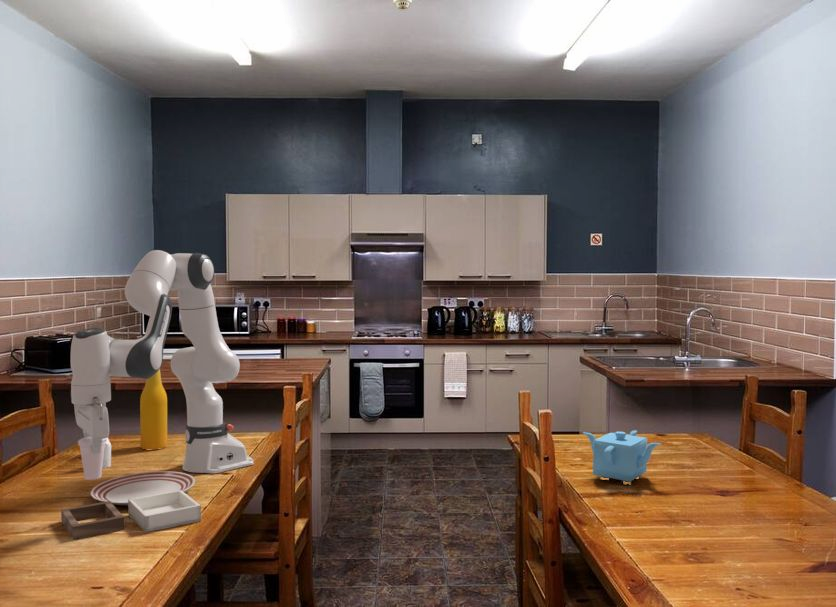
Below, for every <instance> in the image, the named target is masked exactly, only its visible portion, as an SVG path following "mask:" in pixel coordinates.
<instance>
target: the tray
mask: <svg viewBox="0 0 836 607" xmlns="http://www.w3.org/2000/svg"><path fill="white" fill-rule="evenodd" d="M201 505H202V504H200V503H199V502H197V501H196V500H195V499H193V498H192V497H191V496H190V495H188V494H187V493H186V492H183V491H182V490H178V491H172V492H167V493H161V494H156V495H150V496H145V497H139V498H133V499H128V506H127V507H128V508H127V509H128V514H129V515H130V516H131V517H132V518H131V517H130V516H129V515H128V514H127V515H128V516H129V517H130V518H131V519H132V520H133V521H134V522H135V524H136V525H137V526H139V528H140V527H141V528H142V529H143V530H144V531H143V530H142V529H141V528H140V529H141V530H142V531H143V532H144V533H145V532H146V533H149V532H150V531H151V532H154V531H155V530H156V531H160V530H164V529H169V528H174V527H179V526H183V525H190V524H193V523H198V522H201V521H202V506H201Z"/></svg>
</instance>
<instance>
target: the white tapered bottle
mask: <svg viewBox="0 0 836 607" xmlns="http://www.w3.org/2000/svg"><path fill="white" fill-rule="evenodd" d="M107 467H108V468H110V467H112V444H111V441H110V440H109V437H108V438H106V443H105V448H104V457H103V466H102V468H103V469H107Z"/></svg>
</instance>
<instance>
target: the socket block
mask: <svg viewBox="0 0 836 607" xmlns="http://www.w3.org/2000/svg"><path fill="white" fill-rule="evenodd" d="M60 512H61V514H60V517H61V520H60V521H62V522H61V523H62V524H63V526H64V528H65V530H66V531H67V533H68V534H69V535H70V537H71V539H72V541H73V540H77V538H79V539H83V537H84V538H88V536H89V537H93V535H94V536H98V534H99V535H103V534H108V533H112V532H118V531H123V530H125V516H124V515H123V514H122V513H121V512H120V511H119V509H118V508H117V507H116V506H115V504H112V503H111V502H110V501H107V502H101V501H100V502H96V503H90V504H85V505H80V506H74V507H69V508H63V509H61V511H60ZM101 515H102V516H105V517H106V518H103V519H97V520H93V521H86V522H81V523H79V522H78V521H79V520H85V519H91V518H90V517H92V518H95V516H97V517H101ZM122 529H123V530H122Z"/></svg>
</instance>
